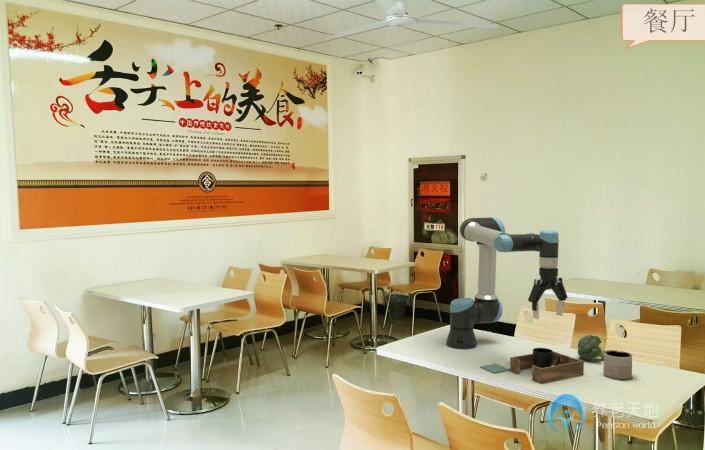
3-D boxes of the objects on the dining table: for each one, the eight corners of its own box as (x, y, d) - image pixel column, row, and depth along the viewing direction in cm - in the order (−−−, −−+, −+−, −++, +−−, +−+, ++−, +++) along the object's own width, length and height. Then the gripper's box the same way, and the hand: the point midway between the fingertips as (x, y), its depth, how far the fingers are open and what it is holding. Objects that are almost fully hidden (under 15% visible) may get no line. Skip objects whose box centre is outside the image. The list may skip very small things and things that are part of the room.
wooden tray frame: (510, 371, 238) (510, 357, 237) (550, 363, 248) (551, 350, 248) (541, 383, 222) (541, 369, 221) (583, 375, 232) (583, 361, 232)
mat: (480, 367, 243) (480, 366, 242) (496, 364, 246) (496, 363, 246) (493, 373, 234) (493, 372, 234) (510, 370, 238) (510, 369, 238)
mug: (553, 378, 228) (553, 356, 227) (528, 371, 237) (528, 349, 237) (564, 374, 233) (565, 352, 232) (539, 367, 242) (540, 346, 242)
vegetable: (616, 361, 245) (586, 345, 246) (599, 374, 254) (569, 359, 254) (616, 340, 254) (586, 325, 254) (599, 353, 263) (571, 339, 263)
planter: (597, 373, 234) (597, 351, 234) (616, 370, 238) (616, 348, 238) (618, 381, 224) (619, 358, 224) (637, 378, 228) (638, 355, 228)
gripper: (533, 269, 224) (532, 321, 225) (576, 266, 235) (575, 315, 236) (519, 267, 230) (519, 317, 232) (562, 264, 242) (562, 312, 243)
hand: (547, 316), depth 234 cm, fingers open, 13 cm apart
